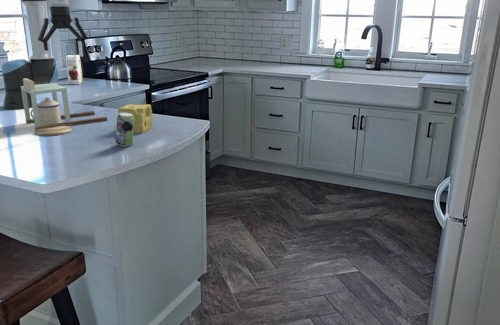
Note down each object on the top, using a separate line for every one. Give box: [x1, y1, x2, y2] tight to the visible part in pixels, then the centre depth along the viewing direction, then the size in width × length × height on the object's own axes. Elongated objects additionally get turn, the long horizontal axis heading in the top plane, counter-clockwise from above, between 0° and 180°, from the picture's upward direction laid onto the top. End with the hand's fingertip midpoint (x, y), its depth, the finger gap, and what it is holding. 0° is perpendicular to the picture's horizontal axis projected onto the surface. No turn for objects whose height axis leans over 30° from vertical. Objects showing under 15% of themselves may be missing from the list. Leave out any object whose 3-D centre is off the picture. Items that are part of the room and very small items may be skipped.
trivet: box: [34, 126, 73, 137], centre depth 195 cm, size 14×14×1 cm
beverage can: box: [115, 113, 134, 147], centre depth 173 cm, size 6×7×12 cm
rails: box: [25, 110, 108, 131], centre depth 212 cm, size 18×30×2 cm, turn 127°
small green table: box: [21, 78, 72, 127], centre depth 204 cm, size 17×14×18 cm
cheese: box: [117, 103, 153, 134], centre depth 196 cm, size 10×11×10 cm
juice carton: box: [65, 54, 84, 85], centre depth 316 cm, size 8×9×19 cm
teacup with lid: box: [29, 97, 62, 126], centre depth 205 cm, size 12×9×12 cm
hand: (65, 57), depth 207 cm, fingers open, 13 cm apart
